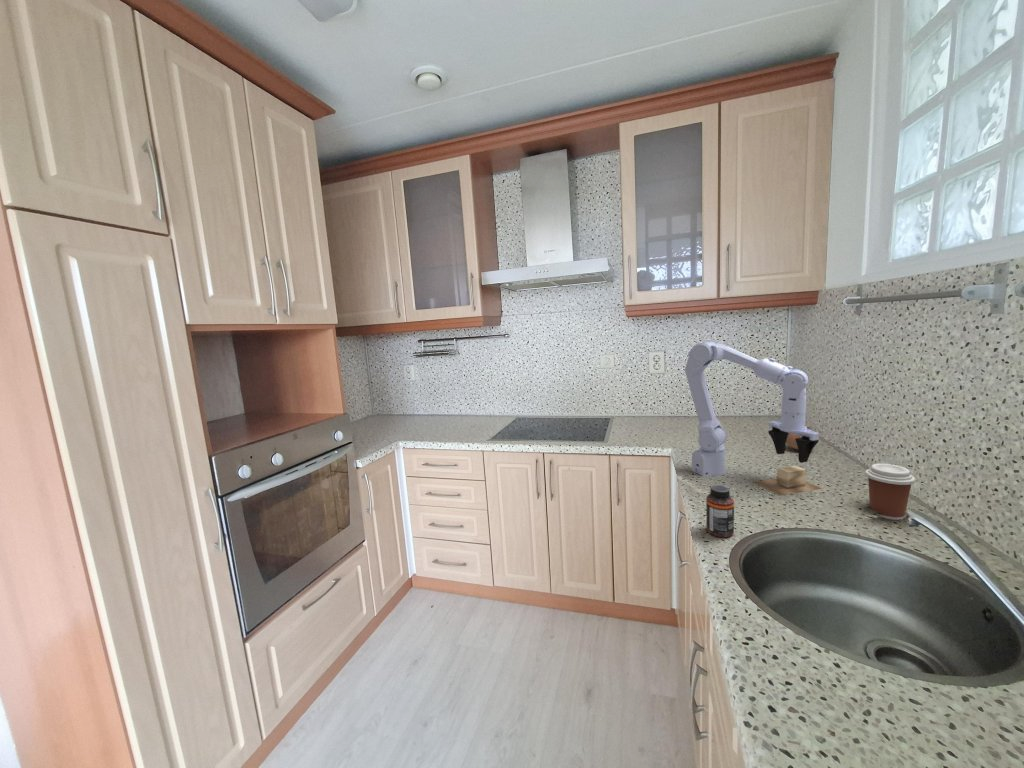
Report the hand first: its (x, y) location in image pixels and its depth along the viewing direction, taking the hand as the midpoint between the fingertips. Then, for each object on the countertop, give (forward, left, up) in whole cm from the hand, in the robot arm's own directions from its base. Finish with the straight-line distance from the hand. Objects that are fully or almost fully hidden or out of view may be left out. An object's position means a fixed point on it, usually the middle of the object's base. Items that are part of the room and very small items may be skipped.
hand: (791, 457), depth 115 cm
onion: (+31, +27, -10) cm, 42 cm away
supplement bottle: (-35, -15, -10) cm, 39 cm away
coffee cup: (+9, -19, -10) cm, 23 cm away
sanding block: (0, 0, -8) cm, 8 cm away
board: (-1, 0, -10) cm, 10 cm away
